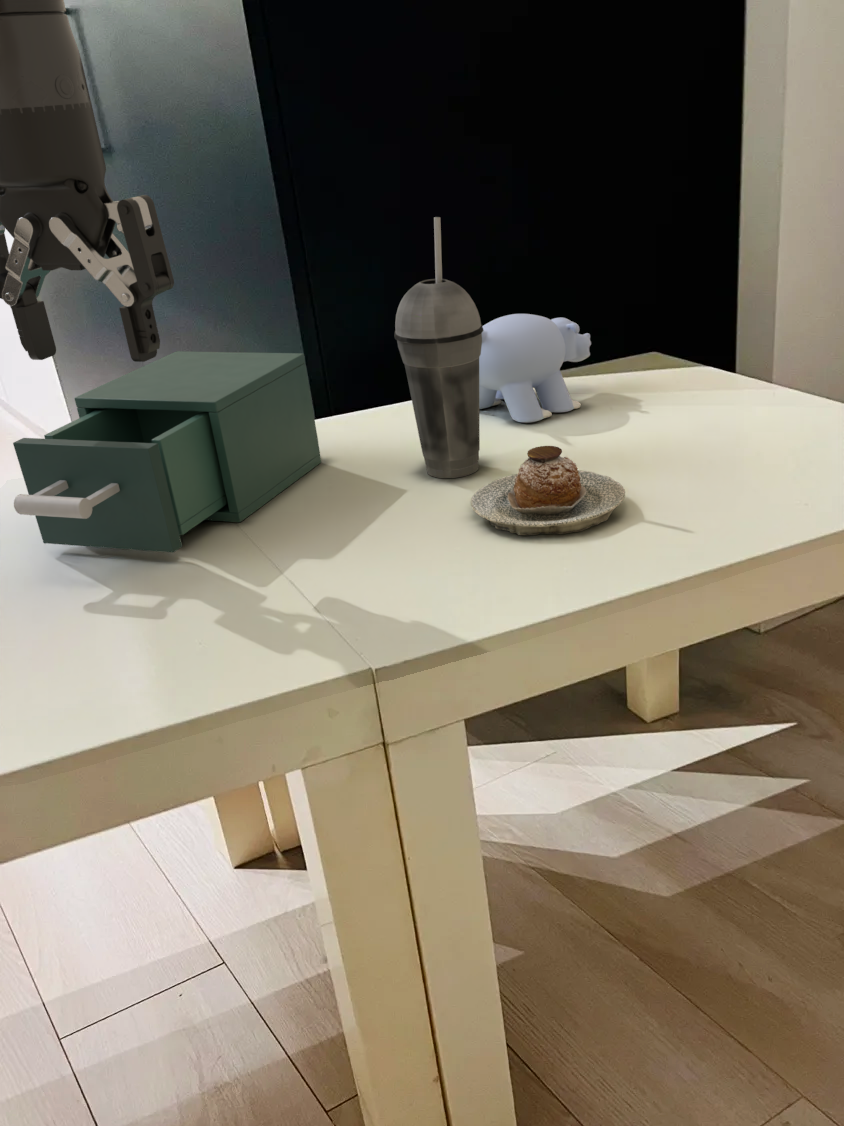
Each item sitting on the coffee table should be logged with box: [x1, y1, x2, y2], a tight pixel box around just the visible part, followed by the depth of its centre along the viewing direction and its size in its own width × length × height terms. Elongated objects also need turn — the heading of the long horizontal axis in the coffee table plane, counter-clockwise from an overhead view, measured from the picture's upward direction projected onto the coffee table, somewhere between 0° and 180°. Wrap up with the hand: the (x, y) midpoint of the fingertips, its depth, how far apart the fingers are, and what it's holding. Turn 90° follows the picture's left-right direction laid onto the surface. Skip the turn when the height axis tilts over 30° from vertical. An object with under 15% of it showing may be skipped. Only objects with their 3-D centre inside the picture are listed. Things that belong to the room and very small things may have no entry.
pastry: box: [470, 445, 626, 536], centre depth 87 cm, size 12×12×5 cm
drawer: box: [12, 408, 228, 553], centre depth 85 cm, size 18×11×8 cm, turn 163°
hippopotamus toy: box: [479, 313, 592, 423], centre depth 111 cm, size 11×15×10 cm
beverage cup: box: [393, 216, 483, 479], centre depth 92 cm, size 7×7×20 cm
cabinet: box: [73, 351, 322, 523], centre depth 94 cm, size 15×13×10 cm
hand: (93, 358), depth 80 cm, fingers open, 8 cm apart
